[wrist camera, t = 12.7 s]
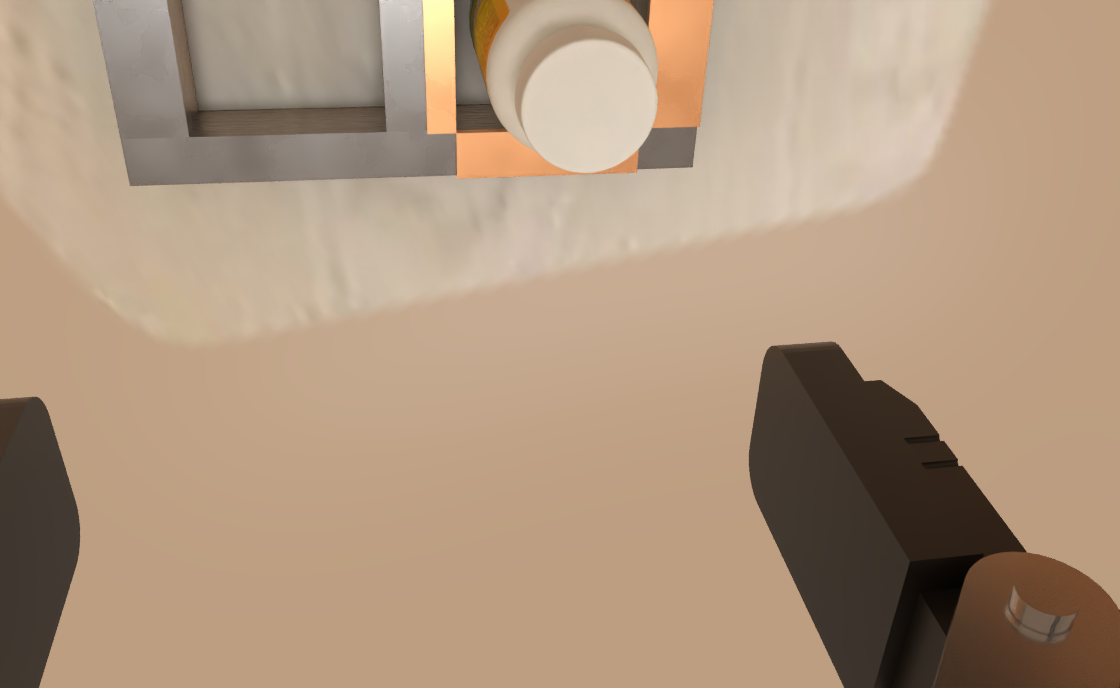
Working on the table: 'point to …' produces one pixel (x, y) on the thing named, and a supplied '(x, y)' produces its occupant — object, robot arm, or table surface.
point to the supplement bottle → (569, 77)
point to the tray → (370, 132)
